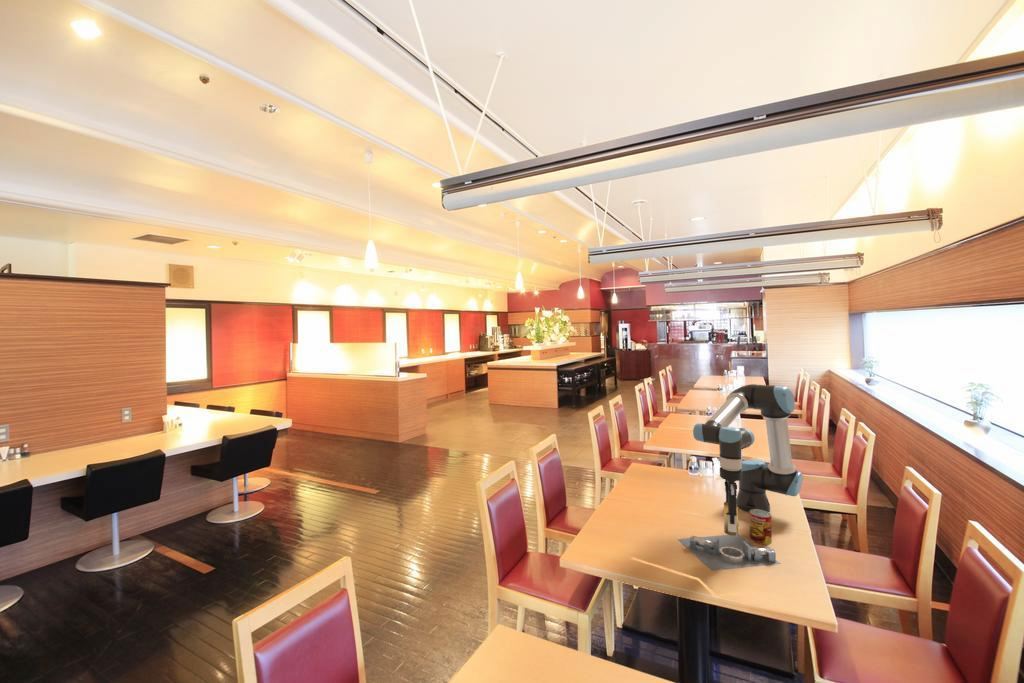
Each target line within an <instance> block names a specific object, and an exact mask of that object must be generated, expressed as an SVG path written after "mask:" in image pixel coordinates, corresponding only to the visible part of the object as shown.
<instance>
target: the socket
mask: <svg viewBox="0 0 1024 683" xmlns="http://www.w3.org/2000/svg"><path fill="white" fill-rule="evenodd" d="M724 553H733V554H736V555H739V556H740V557H732V556H729V555H726V554H724ZM720 557H721V558H722V559H723V560H725V561H728V562H731V563H743V562H744V561H745V555H744V553H743V552H742V551H741V550H739V549H736V548H733V547H722V548H720Z"/></svg>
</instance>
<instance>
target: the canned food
mask: <svg viewBox="0 0 1024 683" xmlns="http://www.w3.org/2000/svg"><path fill="white" fill-rule="evenodd" d="M772 533H773V532H772V513H770V511H769V512H767V511H765V510H760V509H752V510H750V512H749V538H750V540H751V541H753V542H755V543H758V544H761V545H770V544H772V543H773V542H772V541H773V539H772Z"/></svg>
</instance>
